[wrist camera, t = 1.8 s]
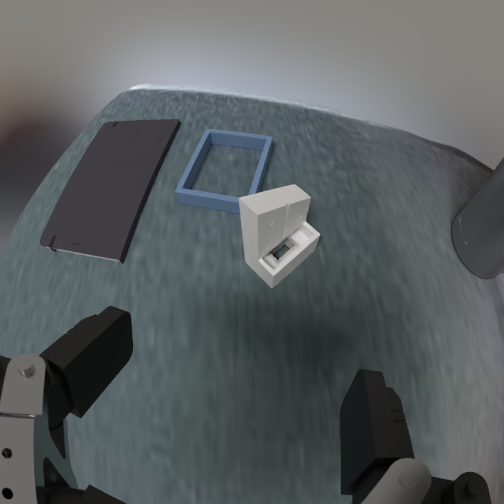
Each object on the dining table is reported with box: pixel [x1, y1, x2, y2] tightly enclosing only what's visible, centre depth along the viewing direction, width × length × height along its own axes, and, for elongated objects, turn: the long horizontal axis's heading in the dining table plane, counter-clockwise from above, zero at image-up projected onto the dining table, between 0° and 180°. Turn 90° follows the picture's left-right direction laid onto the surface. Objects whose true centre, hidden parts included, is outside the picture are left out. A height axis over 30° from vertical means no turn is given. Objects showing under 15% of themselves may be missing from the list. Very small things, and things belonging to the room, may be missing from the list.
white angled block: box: [239, 184, 320, 288], centre depth 25 cm, size 4×10×9 cm, turn 132°
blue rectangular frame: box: [175, 129, 273, 214], centre depth 32 cm, size 8×10×2 cm
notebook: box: [40, 119, 180, 264], centre depth 33 cm, size 13×2×21 cm
